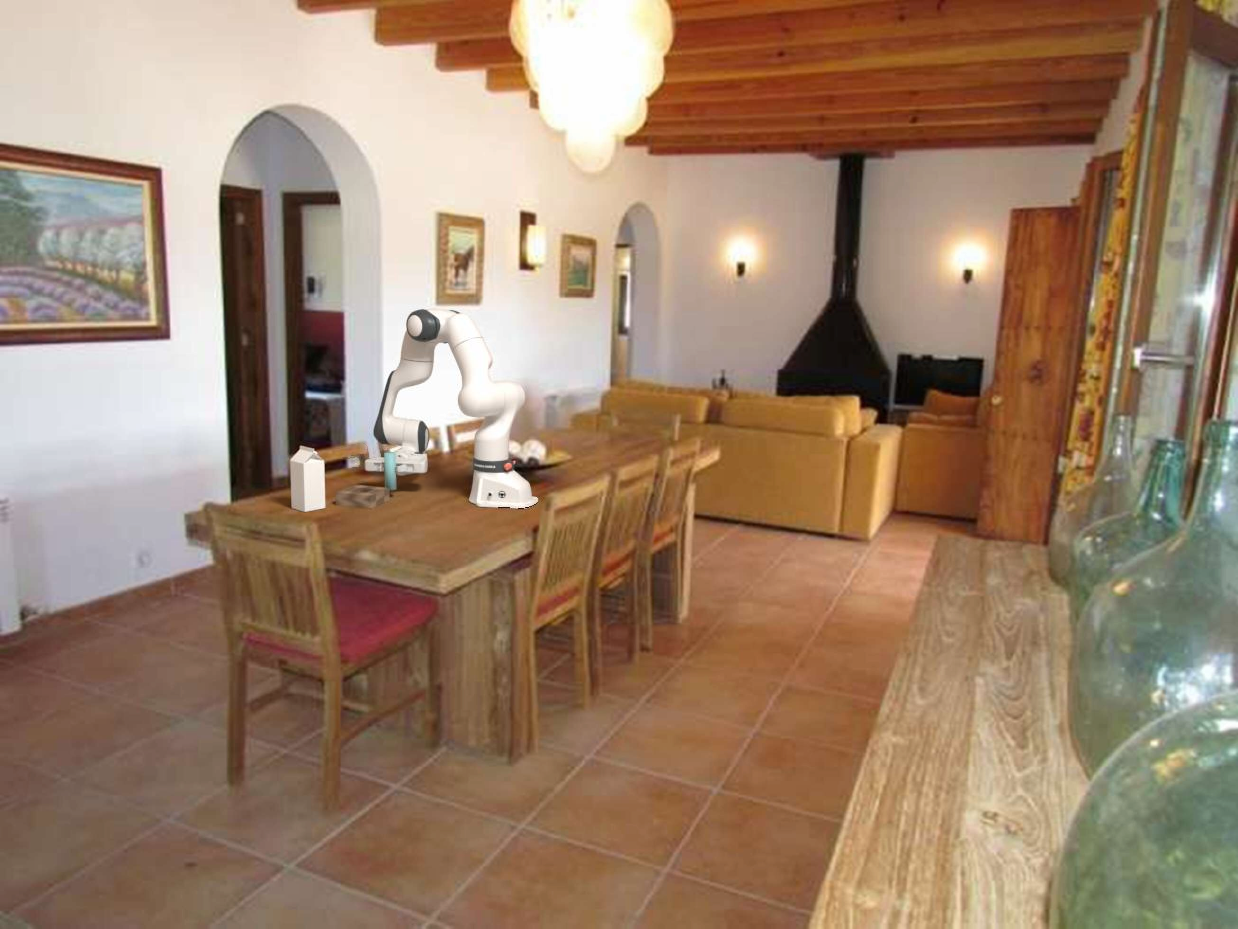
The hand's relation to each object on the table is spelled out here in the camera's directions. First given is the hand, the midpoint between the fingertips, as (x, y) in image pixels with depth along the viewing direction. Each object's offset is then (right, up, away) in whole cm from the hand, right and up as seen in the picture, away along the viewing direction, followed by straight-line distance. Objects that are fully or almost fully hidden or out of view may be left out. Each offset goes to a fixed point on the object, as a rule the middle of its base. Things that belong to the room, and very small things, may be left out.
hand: (389, 469), depth 282 cm
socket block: (-7, -10, -6) cm, 14 cm away
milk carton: (-21, -12, -16) cm, 29 cm away
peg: (0, -6, +2) cm, 7 cm away
